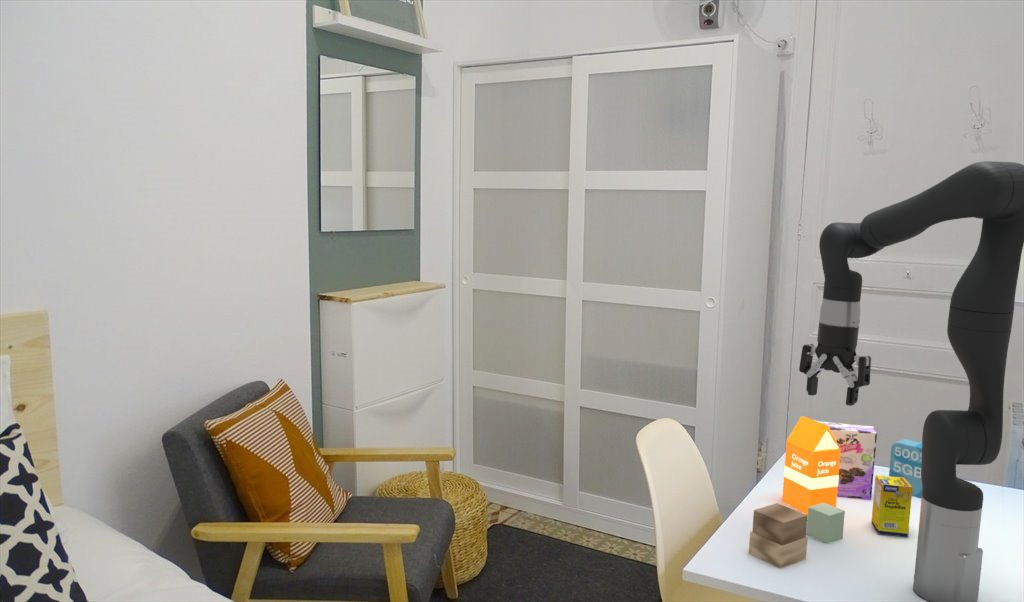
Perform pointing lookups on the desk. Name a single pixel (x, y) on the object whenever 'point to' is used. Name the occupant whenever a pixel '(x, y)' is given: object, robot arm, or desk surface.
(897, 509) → the supplement box
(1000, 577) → the desk surface
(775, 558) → the oak block
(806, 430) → the orange juice
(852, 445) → the candy box
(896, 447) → the data package
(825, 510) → the green block
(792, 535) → the walnut block
